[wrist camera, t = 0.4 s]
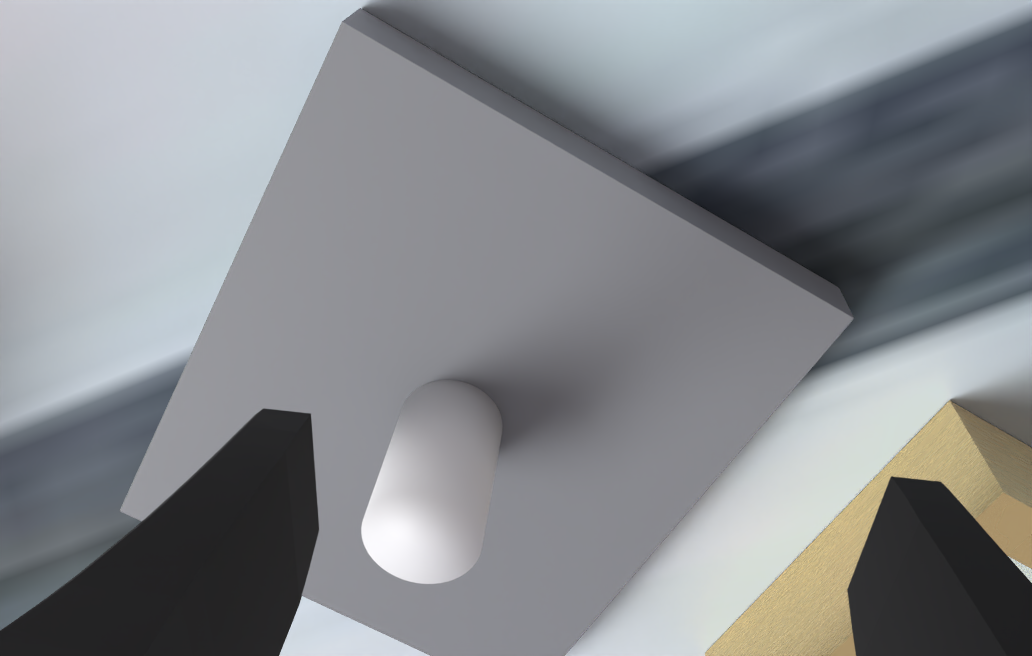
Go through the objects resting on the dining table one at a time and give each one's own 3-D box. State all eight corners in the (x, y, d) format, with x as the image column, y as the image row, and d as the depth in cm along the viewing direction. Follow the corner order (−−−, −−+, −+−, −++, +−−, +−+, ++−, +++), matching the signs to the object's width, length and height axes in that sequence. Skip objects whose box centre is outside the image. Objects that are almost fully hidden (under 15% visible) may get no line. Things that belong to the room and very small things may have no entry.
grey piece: (530, 657, 28) (513, 835, 23) (145, 475, 26) (36, 627, 21) (838, 287, 21) (906, 424, 16) (360, 7, 19) (277, 70, 15)
